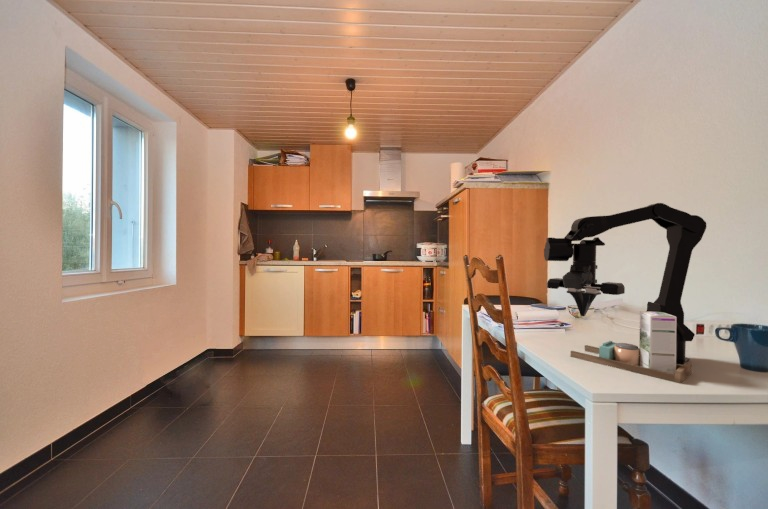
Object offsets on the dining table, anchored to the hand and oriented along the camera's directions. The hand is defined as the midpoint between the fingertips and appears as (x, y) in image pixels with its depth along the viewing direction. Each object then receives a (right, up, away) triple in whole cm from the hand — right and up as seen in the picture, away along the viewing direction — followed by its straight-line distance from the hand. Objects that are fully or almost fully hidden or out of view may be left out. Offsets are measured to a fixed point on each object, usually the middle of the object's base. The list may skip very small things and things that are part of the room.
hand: (582, 315), depth 100 cm
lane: (+6, -11, -8) cm, 15 cm away
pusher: (+4, -11, -5) cm, 13 cm away
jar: (+7, -11, -8) cm, 16 cm away
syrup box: (+11, -12, -13) cm, 21 cm away
